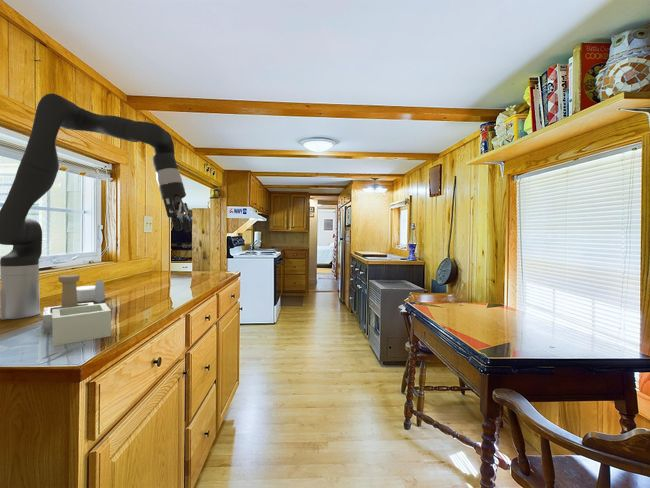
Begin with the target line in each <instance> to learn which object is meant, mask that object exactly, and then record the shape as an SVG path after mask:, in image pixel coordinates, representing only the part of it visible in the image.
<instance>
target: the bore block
mask: <svg viewBox="0 0 650 488" xmlns="http://www.w3.org/2000/svg"><path fill="white" fill-rule="evenodd" d="M93 304H94V301H89V302H80V303H78V306H85V305H93ZM59 308H62V305H56V306H48V307H43V313H42V325H43V326H42V327H43V331H42V332H43V334H47V333H53V328H52V309H59Z"/></svg>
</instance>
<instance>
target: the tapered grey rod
mask: <svg viewBox="0 0 650 488" xmlns="http://www.w3.org/2000/svg"><path fill="white" fill-rule="evenodd" d="M95 285H96V286H95V295H94V301H93V304H102V303H106V294H105V283H104V280H96V281H95Z"/></svg>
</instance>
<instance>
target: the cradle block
mask: <svg viewBox="0 0 650 488" xmlns="http://www.w3.org/2000/svg"><path fill="white" fill-rule="evenodd" d="M111 311H112V310H111V308H110V307H109V306H108V305H107V303H106V302H105V303H102V304H94V303H93V305H85V306H76V307H68V308H59V309H52V328H53V332H52V347H57V346H62V345H68V344H74V343H79V342H83V341H90V340H96V339H97V340H98V339H103V338H107V337H112V312H111Z"/></svg>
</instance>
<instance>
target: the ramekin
mask: <svg viewBox="0 0 650 488" xmlns="http://www.w3.org/2000/svg"><path fill="white" fill-rule="evenodd" d="M95 286H96V284H95V285H83V286H76V289H77V300H78V303H89V302H94V295H95Z"/></svg>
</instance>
